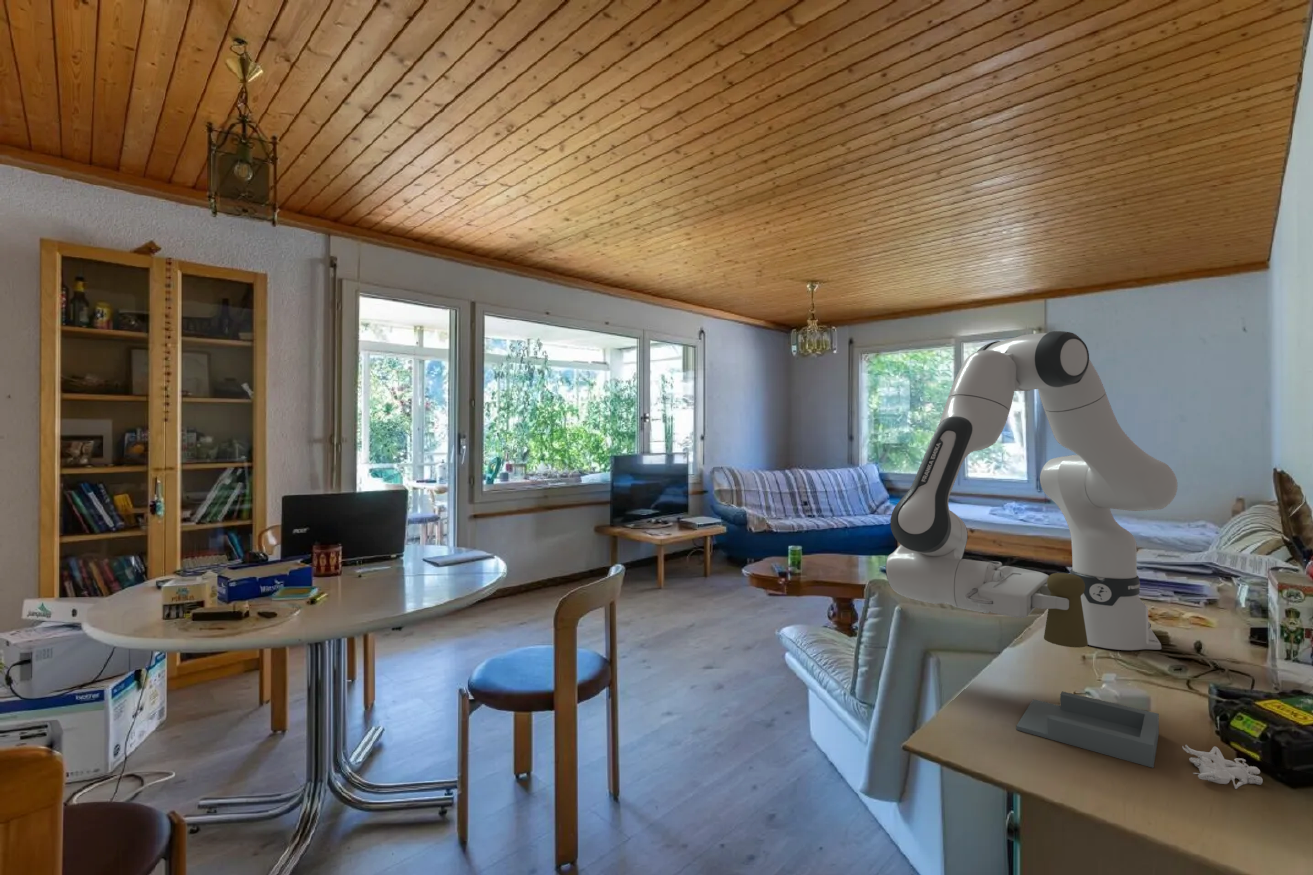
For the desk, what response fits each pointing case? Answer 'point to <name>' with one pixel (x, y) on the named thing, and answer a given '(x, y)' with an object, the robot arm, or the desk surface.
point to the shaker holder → (1095, 727)
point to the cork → (1066, 612)
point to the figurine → (1223, 768)
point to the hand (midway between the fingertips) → (1072, 600)
